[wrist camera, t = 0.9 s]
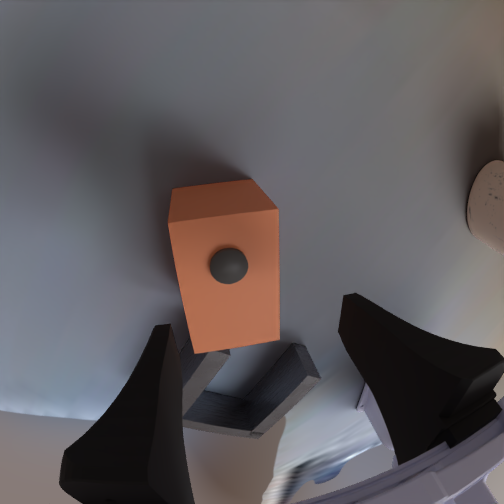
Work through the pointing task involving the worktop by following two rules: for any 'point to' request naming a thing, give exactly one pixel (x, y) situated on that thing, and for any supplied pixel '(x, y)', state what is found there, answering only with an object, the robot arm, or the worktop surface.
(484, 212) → the teacup with lid
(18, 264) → the worktop surface
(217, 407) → the coupler channel
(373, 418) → the robot arm
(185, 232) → the block
